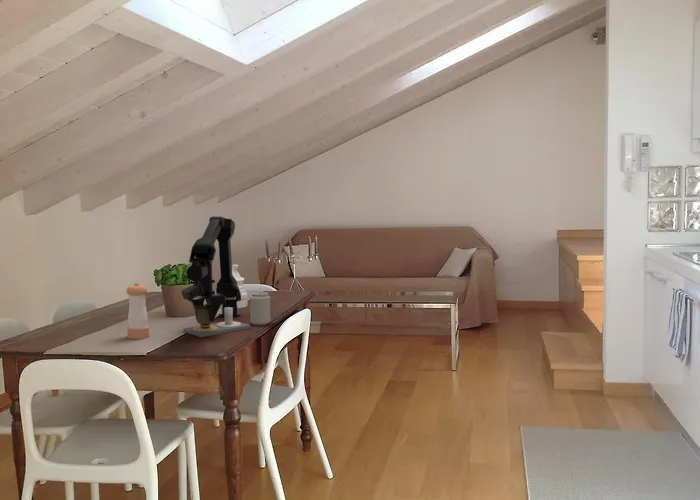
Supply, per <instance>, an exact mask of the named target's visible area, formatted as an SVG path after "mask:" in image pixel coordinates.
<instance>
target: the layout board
mask: <svg viewBox="0 0 700 500" xmlns="http://www.w3.org/2000/svg"><path fill="white" fill-rule="evenodd" d="M224 316H225V317H224ZM224 316H223V317H224V321H219V322H218V321H217V322H214V323H210V327H209V328H206V329H203V328H201V327H200V325H196V326H190V327H184V328H183V333H185V334H190V335H192V336H196V337H198V338H205V337H211V336H215V335H221V334H226V333H231V332H232V333H233V332H237V331H242V330H247V329H251V324H248V323H244V322H241V321H240V322H239V321H237V320H234V319H233V318H234V316H233V308H232V307H226V308H224Z"/></svg>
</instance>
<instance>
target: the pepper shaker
mask: <svg viewBox="0 0 700 500" xmlns="http://www.w3.org/2000/svg"><path fill="white" fill-rule="evenodd" d="M147 293H148V288H147V286H145V285H143V284H140V283H139V282H134V284H131V285H129V286H128V287H127V289H126V294H127V295H128V305H129V307H128V315H127V322H128V327H127V329H126V330H127V338H128V339H132V340H142V339H147V338H149V337H150V326H149V324H148V321H149V318H148V317H149V316H148V312H147V311H148V310H147V306H146V304H147V303H146V294H147Z"/></svg>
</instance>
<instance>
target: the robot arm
mask: <svg viewBox="0 0 700 500" xmlns="http://www.w3.org/2000/svg"><path fill="white" fill-rule="evenodd" d="M208 222H209V223H208V224H207V227H206V229H205V231H204V232H203V235H202V236H201V237H200V238H198V239H197V240H196V241H195V242H194V244H193V245H192V247H191V250H190V255H189V260H188V262H189V263H191V265H190V266H189V267H188V268H187V269H186V274H185V275H186V276H187V278H188V280H189V281H191V282H192V284H191V285H190V286H188V287H185V288H184V289H181V291H180V292H181V295H182V297H183V300H186V301H188V302H189V303H191V304H192V307H193V308H194V307H196V305H197V306H199V307H200V305H201V306H203V305H206V306H207V307H208V310H209V319H210V322H211V323H212V322H215V321H214V320H215V318H216V316H217V314H218V316H221V317H223V318H225V316H224V308H226V307H232V308H233V317H237V316H241V313H238V308H237V302H238V301H241V293H240V290H239V287H238V286H237V281H236V279H235V278H234V277H233V275H232V268H233V267H232V265H233V263H232V262H233V261H232V247H231V245H232V244H231V243H232V242H231V240H232V238H233V237H234V234H235V229H236V223H235V221H234V220H233V219H232V218H226V217H224V216H216V215H215V216H211V217H209V221H208ZM216 240H217V242H218V255H219V257H218V258H219V270H220V272H219V273H220V278H219V279H218V282H216V281H215V280H216V279H213V261H214V259H215V256H216V253H217V249H216V247H215V243H216ZM215 283H216V289H215V290H216V291H215V290H214V289H213V284H215ZM235 297H236V298H235ZM221 305H222V308H220V306H221ZM219 309H221V313H218V312H219Z"/></svg>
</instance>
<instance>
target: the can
mask: <svg viewBox="0 0 700 500" xmlns="http://www.w3.org/2000/svg"><path fill="white" fill-rule="evenodd" d="M249 306H250V307H249V308H250V309H249V311H250V323H251V324H253V326H254V325H255V326H266V325H268V324H269V323H271V296H269V292H266V291H256V292H252V293H251V295H250V297H249Z"/></svg>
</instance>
